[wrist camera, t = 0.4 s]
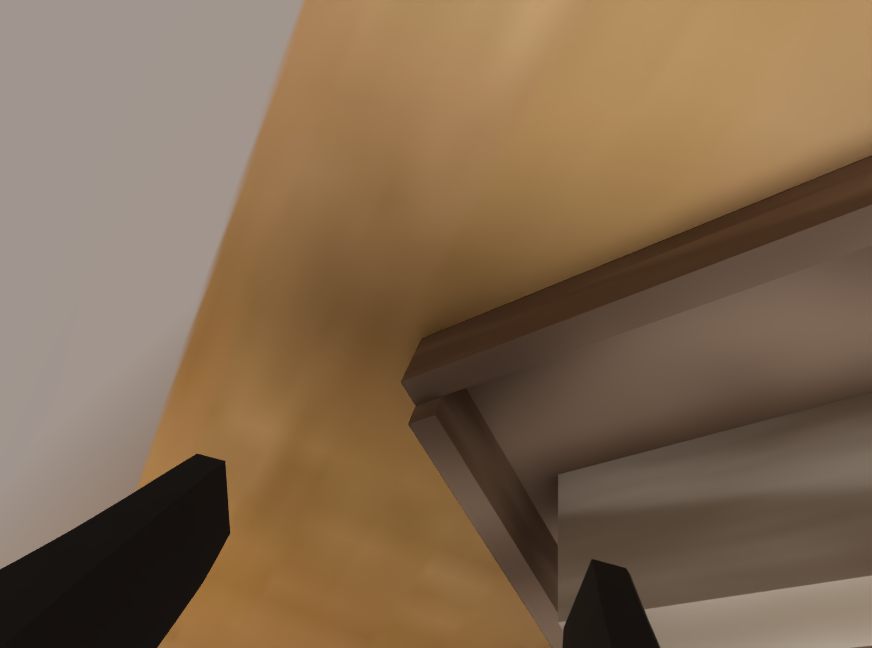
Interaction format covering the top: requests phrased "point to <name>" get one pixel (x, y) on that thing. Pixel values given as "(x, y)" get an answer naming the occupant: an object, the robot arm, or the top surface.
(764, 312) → the walnut tray
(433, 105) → the top surface
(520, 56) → the top surface
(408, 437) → the top surface
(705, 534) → the grey rectangular block
